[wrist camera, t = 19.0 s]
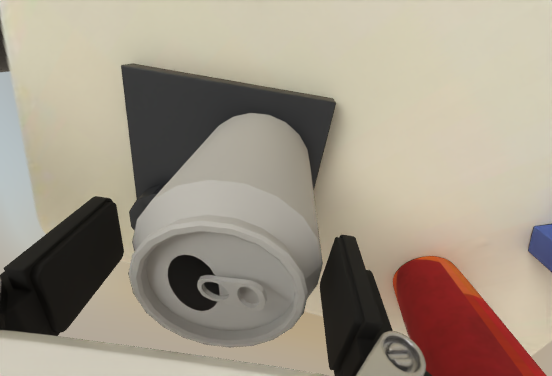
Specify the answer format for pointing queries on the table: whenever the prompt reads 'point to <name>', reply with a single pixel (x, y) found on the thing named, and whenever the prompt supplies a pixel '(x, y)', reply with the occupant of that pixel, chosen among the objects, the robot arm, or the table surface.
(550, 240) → the walkman
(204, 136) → the dark grey flat block
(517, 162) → the table surface
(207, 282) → the can
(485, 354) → the coffee cup
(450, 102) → the table surface
